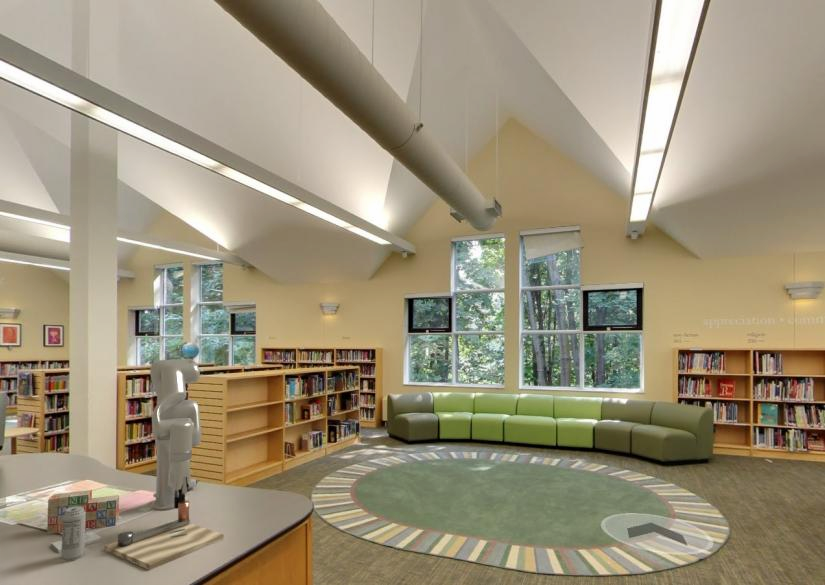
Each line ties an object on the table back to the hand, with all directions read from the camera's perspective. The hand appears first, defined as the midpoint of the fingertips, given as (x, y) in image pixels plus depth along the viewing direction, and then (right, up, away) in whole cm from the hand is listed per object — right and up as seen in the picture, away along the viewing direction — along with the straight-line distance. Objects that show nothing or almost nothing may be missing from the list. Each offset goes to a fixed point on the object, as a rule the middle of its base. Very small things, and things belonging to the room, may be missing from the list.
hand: (179, 507), depth 185 cm
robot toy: (-19, -10, +43) cm, 48 cm away
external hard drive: (-28, -7, -15) cm, 32 cm away
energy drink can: (-22, -5, -25) cm, 34 cm away
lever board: (+3, -6, -16) cm, 17 cm away
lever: (-3, -4, -11) cm, 12 cm away
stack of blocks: (-35, -7, 0) cm, 36 cm away
